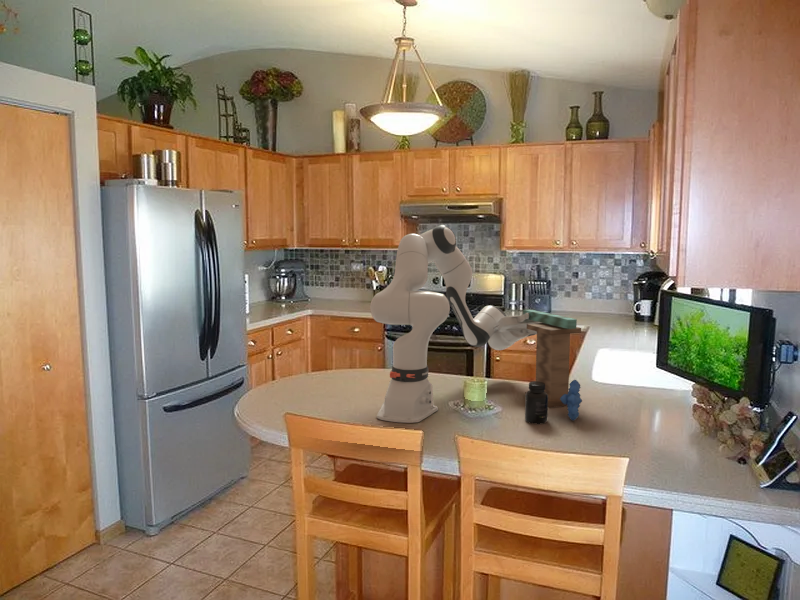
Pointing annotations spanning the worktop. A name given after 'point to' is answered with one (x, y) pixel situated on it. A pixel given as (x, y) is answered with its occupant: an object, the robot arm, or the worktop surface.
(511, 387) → the worktop surface
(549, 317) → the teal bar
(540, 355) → the walnut stand
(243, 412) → the worktop surface
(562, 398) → the grapes
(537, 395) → the supplement bottle
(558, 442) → the worktop surface
